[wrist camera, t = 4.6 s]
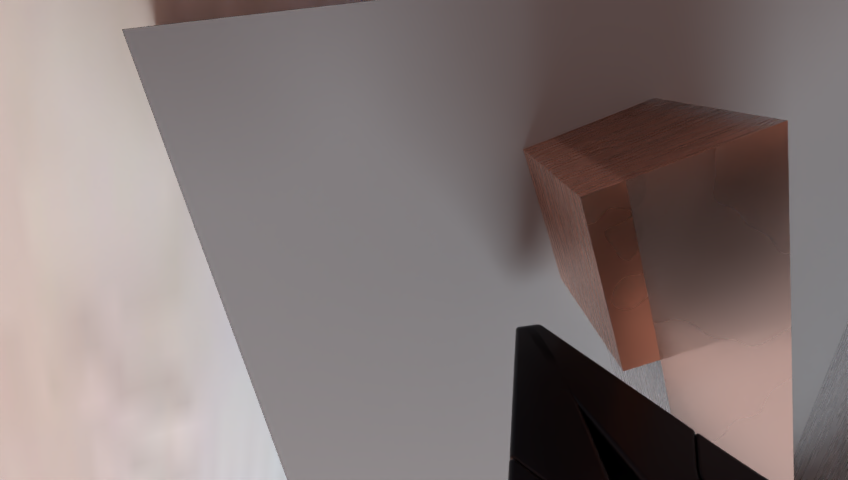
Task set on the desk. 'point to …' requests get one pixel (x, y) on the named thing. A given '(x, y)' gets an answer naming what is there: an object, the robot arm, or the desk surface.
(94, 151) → the desk surface
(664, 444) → the robot arm
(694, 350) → the tong arm
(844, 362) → the fixed tong arm
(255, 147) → the mat
